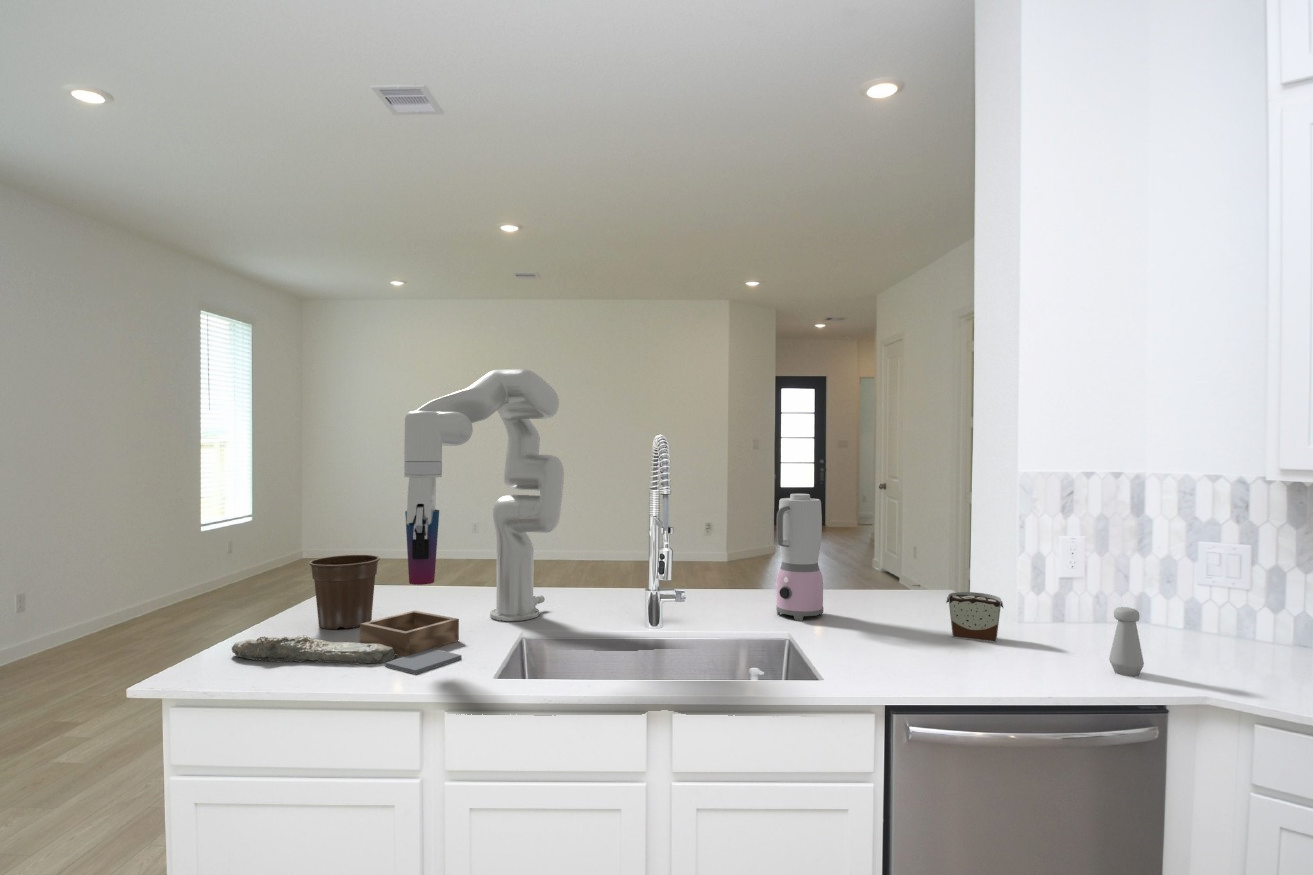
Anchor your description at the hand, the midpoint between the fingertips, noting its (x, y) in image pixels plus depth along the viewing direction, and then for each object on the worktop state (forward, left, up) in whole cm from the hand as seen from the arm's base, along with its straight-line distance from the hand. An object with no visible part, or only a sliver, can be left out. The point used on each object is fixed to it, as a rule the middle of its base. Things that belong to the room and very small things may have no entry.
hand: (422, 555), depth 153 cm
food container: (-83, +95, -22) cm, 128 cm away
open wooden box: (-7, -12, -22) cm, 26 cm away
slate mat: (+1, +2, -22) cm, 22 cm away
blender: (-79, +52, -22) cm, 97 cm away
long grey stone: (+11, -21, -22) cm, 33 cm away
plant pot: (-10, -40, -22) cm, 47 cm away
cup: (0, 0, -6) cm, 6 cm away
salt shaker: (-70, +125, -22) cm, 145 cm away
